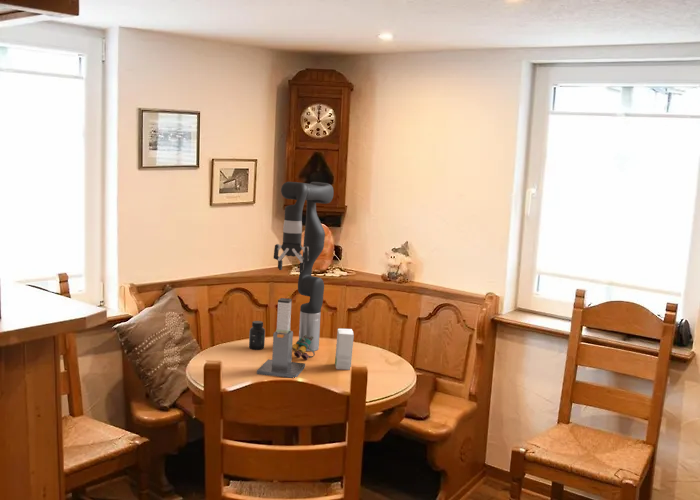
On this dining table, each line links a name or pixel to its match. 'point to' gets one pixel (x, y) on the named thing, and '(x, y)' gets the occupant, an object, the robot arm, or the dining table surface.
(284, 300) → the column
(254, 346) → the supplement bottle
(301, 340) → the binoculars
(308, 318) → the robot arm
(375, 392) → the dining table surface
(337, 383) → the dining table surface
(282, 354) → the stand
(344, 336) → the skincare box
